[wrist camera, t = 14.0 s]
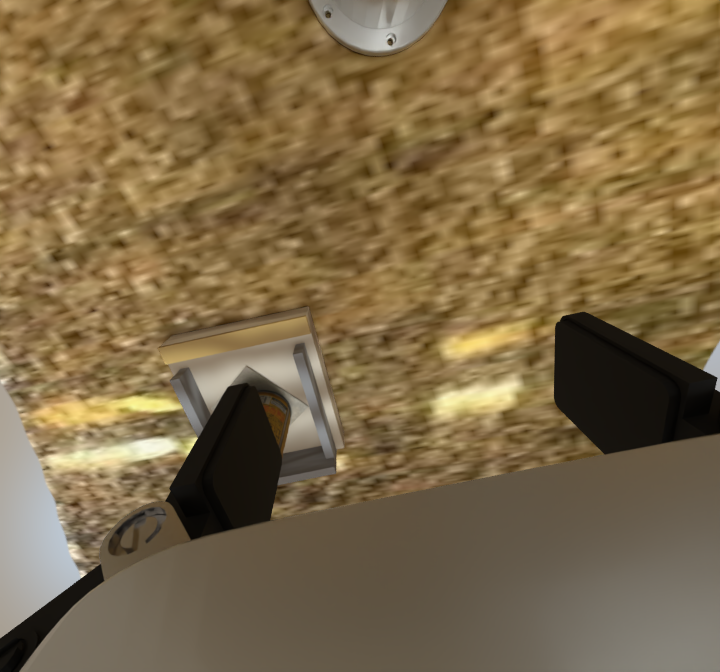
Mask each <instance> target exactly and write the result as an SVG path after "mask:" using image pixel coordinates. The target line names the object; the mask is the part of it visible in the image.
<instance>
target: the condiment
mask: <svg viewBox="0 0 720 672" xmlns="http://www.w3.org/2000/svg"><path fill="white" fill-rule="evenodd" d="M242 383H248V384H249V385H250V386H255V387H256V389H257V391H258V394H259V396H260V399H261V401H262V404H263V407H264V409H265V412H266V415H267V417H268V420H269V422H270V425H271V428H272V430H273V433H274V435H275V438H276V441H277V443H278V446H279V448H280V451H281V455H282V458H283V451H284V447H285V443H286V439H287V434H288V429H289V426H290V425H291V424H292V423H293V422H294V421H295V420H296V419H297V418H298V417H299V416H300V415H301V414H302V413H303V412H304V411H305V409H306V408H307V407H308V406H307V405H305V404H304V403H302V402H301V401H299V400H298V399H296V398H295V397H293V396H292V395H290V394H289V393H287V392H286V391H284V390H283V389H281V388H279V387H278V386H276V385H274V384H272V383H271V382H270V381H268V380H267V379H265V378H264V377H262V376H261V375H259V374H257V373H256V372H254V371H252V370H251V369H250V368H248V367H247V366H246V367H245V368H244V369H243V371H242V372H241V373H240V374H239V375H238V377H237V378H236V379H235V380H234V381H233V383H232V384H231V385H230V386H233V385H238V384H242ZM223 394H224V393H223ZM221 397H222V396H221ZM221 397H220V398H219V400H218V401H217V402H216V403H215V404H214V406H213V407H212V408H211V409H212V410H213V411H214V409H215V408H216V406H217V404H218V402H219V401H220V399H221Z"/></svg>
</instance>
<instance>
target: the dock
mask: <svg viewBox="0 0 720 672" xmlns="http://www.w3.org/2000/svg"><path fill="white" fill-rule="evenodd" d="M158 350H159V352H160V354H161V356H162V358H163V360H164V362H165V364H166V365H167V364H168V365H169V367H170V369H171V371H172V373H173V375H174V376H173V378H172V379H171V380H170V382H171V384H172V386H173V388H174V390H175V392H176V394H177V396H178V398H179V400H180V402H181V405H182V407H183V409H184V411H185V413H186V415H187V417H188V419H189V421H190V423H191V425H192V427H193V429H194V431H195V433H196V435H197V437H199V436H200V434H201V432H202V430H203V429H204V427H205V425H206V423H207V422H208V420H209V418H210V416H211V415H212V413H213V410H212V409H211V408H212V407H213V406H214V404H215V403H216V402H217V401H218V400H219V398H220V397H221V396H222V395H223V393H224V392H225V390H226V389H227V387H228V386H230V385H231V384H232V383H233V381H234V380H235V379H236V378H237V377H238V375H239V374H240V373H241V372H242V371H243V369H244V368H245V367H246V366H247V367H248V368H250V369H251V370H252V371H254V372H256V373H257V374H259V375H261V376H262V377H264V378H265V379H267V380H268V381H270V382H271V383H272V384H274V385H276V386H278V387H279V388H281V389H283V390H284V391H286V392H287V393H289V394H290V395H292V396H293V397H295V398H296V399H298V400H299V401H301V402H302V403H304V404H305V405H307V406H308V407H307V408H306V409H305V411H304V412H303V413H302V414H301V415H300V416H299V417H298V418H297V419H296V420H295V421H294V422H293V423H292V424H291V425H290V426H289V429H288V434H287V439H286V443H285V447H284V451H283V458H282V466H281V471H280V476H279V480H278V485H281V484H286V483H291V482H296V481H301V480H306V479H311V478H316V477H321V476H326V475H331V474H336V449H340V448H344V430H343V427H342V423H341V420H340V416H339V413H338V409H337V405H336V402H335V398H334V395H333V391H332V388H331V384H330V381H329V377H328V373H327V370H326V366H325V363H324V359H323V356H322V352H321V349H320V345H319V341H318V338H317V334H316V331H315V327H314V324H313V320H312V317H311V313H310V309H309V306H307V307H303V308H298V309H293V310H289V311H284V312H280V313H275V314H270V315H266V316H261V317H256V318H252V319H247V320H243V321H238V322H233V323H229V324H224V325H219V326H215V327H210V328H206V329H201V330H196V331H192V332H187V333H183V334H178V335H173V336H171V337H170V338H169V339H168V340H167V341H166V342H164V343H163V344H162V345H161V346H160V347H159V348H158Z"/></svg>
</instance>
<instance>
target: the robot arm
mask: <svg viewBox="0 0 720 672" xmlns="http://www.w3.org/2000/svg"><path fill="white" fill-rule="evenodd" d="M446 2H447V0H309V3H310V6H311V7H312V9H313V11H314V13H315V15H316V16H317V18H318V20H319V22H320V23H321V24H322V25H323V27H324V28H325V29H326V30H327V32H328V33H329V34H330V35H331V36H332V37H333V38H335V39H336V40H337V41H338V42H339V43H340V44H342V45H343V46H345V47H347V48H349V49H350V50H352V51H354V52H357V53H361V54H364V55H368V56H386V55H391V54H396V53H398V52H400V51H403V50H405V49H407V48H409V47H410V46H412V45H413V44H415V43H416V42H417V41H419V40H420V39H421V38H422V37H423V36H424V35H425V34H426V33H427V32H428V31H429V30H430V29H431V27H432V26H433V24H434V23H435V21H436V20H437V18H438V17H439V15H440V14H441V12H442V10H443V8H444V6H445V4H446ZM327 13H330V14H331V18H326V17H325V15H326V14H327ZM388 40H391V41H392V43H393V45H391V46H389V45H388V44H387V41H388ZM716 381H717V377H715V376H713V375H711V374H709V373H707V372H705V371H703V370H701V369H699V368H697V367H695V366H693V365H691V364H689V363H687V362H685V361H683V360H681V359H679V358H677V357H675V356H673V355H671V354H669V353H667V352H665V351H663V350H661V349H659V348H657V347H655V346H653V345H651V344H649V343H647V342H645V341H643V340H641V339H639V338H637V337H635V336H633V335H631V334H629V333H627V332H625V331H623V330H621V329H619V328H617V327H615V326H613V325H611V324H609V323H606V322H604V321H602V320H600V319H598V318H596V317H594V316H592V315H590V314H588V313H586V312H580V313H575V314H570V315H566V316H563V317H562V318H561V320H560V322H557V323H556V326H555V367H554V400H555V403H556V405H557V407H558V408H559V409H560V410H561V411H562V412H563V413H564V414H565V415H566V416H567V417H568V418H569V419H570V420H571V421H572V422H573V423H574V424H575V425H576V426H577V427H578V428H579V429H580V430H581V431H582V432H583V433H584V434H585V435H586V436H587V437H588V438H589V439H590V440H591V441H592V442H593V443H594V444H595V445H596V446H597V447H598V448H599V449H600V450H601V451H602V452H603V453H604V454H605V455H600V456H594V457H589V458H584V459H579V460H574V461H568V462H563V463H558V464H553V465H548V466H543V467H538V468H533V469H527V470H522V471H517V472H512V473H507V474H502V475H497V476H492V477H486V478H481V479H476V480H471V481H466V482H461V483H456V484H451V485H446V486H441V487H436V488H431V489H426V490H421V491H416V492H411V493H406V494H401V495H396V496H391V497H386V498H380V499H375V500H370V501H365V502H360V503H356V504H351V505H346V506H341V507H336V508H331V509H326V510H321V511H316V512H311V513H306V514H301V515H296V516H291V517H286V518H281V519H277V520H272V521H270V518H271V513H272V509H273V504H274V499H275V494H276V490H277V485H278V480H279V476H280V471H281V466H282V455H281V451H280V448H279V446H278V443H277V441H276V438H275V435H274V433H273V430H272V428H271V425H270V422H269V420H268V417H267V415H266V412H265V409H264V407H263V404H262V401H261V399H260V396H259V394H258V391H257V389H256V387H255V386H250V385H249V384H248V383H242V384H238V385H233V386H228V387H227V389H226V390H225V392H224V394H223V395H222V397H221V399H220V401H219V402H218V404H217V406H216V408H215V409H214V411H213V413H212V415H211V416H210V418H209V420H208V422H207V423H206V425H205V427H204V429H203V430H202V432H201V434H200V436H199V437H198V439H197V441H196V443H195V444H194V446H193V448H192V450H191V451H190V453H189V455H188V457H187V458H186V460H185V462H184V464H183V465H182V467H181V469H180V471H179V472H178V474H177V476H176V478H175V479H174V481H173V483H172V484H171V486H170V488H169V489H170V490H171V492H170V494H169V496H168V497H167V499H166V501H165V502H164V501H158V502H152V503H149V504H146V505H143V506H141V507H139V508H138V509H136V510H134V511H132V512H131V513H129V514H128V515H127V516H125V517H124V518H123V519H121V520H120V521H119V522H118V523H117V524H116V525H115V526H114V527H113V528H112V529H111V530H110V532H109V533H108V534H107V536H106V537H105V538H104V540H103V542H102V545H101V547H100V554H99V557H100V562H101V564H100V565H99V566H97V567H96V568H95V569H93V570H92V571H91V572H89V573H88V574H87V575H85V576H84V577H82V578H81V579H80V580H78V581H77V582H76V583H74V584H73V585H72V586H70V587H69V588H68V589H66V590H65V591H64V592H62V593H61V594H60V595H58V596H57V597H56V598H54V599H53V600H52V601H50V602H49V603H47V604H46V605H45V606H44V607H42V608H41V609H39V610H38V611H37V612H35V613H34V614H33V615H32V616H30V617H29V618H27V619H26V620H25V621H23V622H22V623H21V624H19V625H18V626H17V627H15V628H14V629H12V630H11V631H10V632H8V634H6V635H4V636H3V637H2V638H0V672H720V392H719V391H717V390H715V386H716Z"/></svg>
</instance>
